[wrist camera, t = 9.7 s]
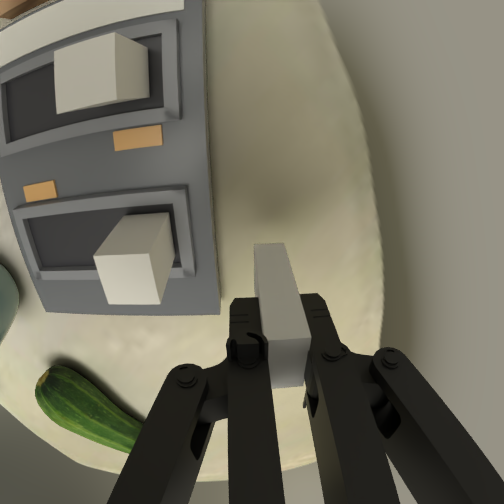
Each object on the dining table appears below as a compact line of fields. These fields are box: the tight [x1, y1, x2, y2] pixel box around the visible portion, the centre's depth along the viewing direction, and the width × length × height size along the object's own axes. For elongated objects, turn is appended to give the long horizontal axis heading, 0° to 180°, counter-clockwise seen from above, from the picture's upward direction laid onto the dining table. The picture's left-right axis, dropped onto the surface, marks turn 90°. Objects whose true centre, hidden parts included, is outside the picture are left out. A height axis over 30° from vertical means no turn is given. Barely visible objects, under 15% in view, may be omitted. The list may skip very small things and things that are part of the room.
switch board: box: [0, 0, 221, 316], centre depth 17 cm, size 24×16×3 cm, turn 1°
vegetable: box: [35, 366, 143, 454], centre depth 29 cm, size 7×7×20 cm
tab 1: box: [54, 32, 150, 114], centre depth 11 cm, size 3×3×5 cm
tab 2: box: [93, 212, 175, 305], centre depth 16 cm, size 3×3×5 cm
